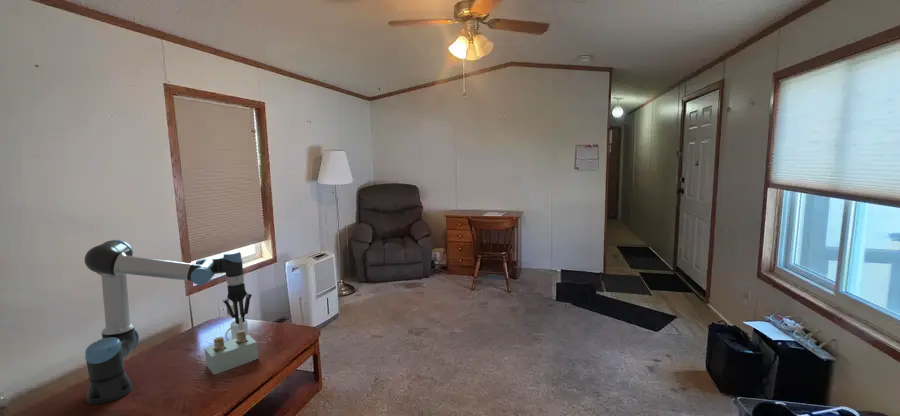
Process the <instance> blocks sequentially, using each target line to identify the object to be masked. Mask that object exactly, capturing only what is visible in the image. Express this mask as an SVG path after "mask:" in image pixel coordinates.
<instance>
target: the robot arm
mask: <svg viewBox="0 0 900 416" xmlns="http://www.w3.org/2000/svg"><path fill="white" fill-rule="evenodd" d="M133 254H134V250H133V247H132V246H131V245H130V244H129V243H128V242H127V241H124V240H121V239H114V240H113V239H112V240H107V241H105V242H103V243H101V244H98V245H96V246H94V247H92V248H90V249H89V250H88V251H87V252H86V254H85V255H84V264H85V266H86V268H87V269H89V270H90V271H92V272H94V273H96V274H97V275H99V276H100V277H101V286H102V298H103V309H104V321H105V322H104V323H105V327H104V329H102V330H101V339H98V340H97V341H94V342H92V343H91V344H89V345H88V346H87V347H86V350H85V353H84V355H85V356H84V359H85V362H86V367H87V368H86V369H87V372H88V373H87V374H88V378H89V379H88V380H89V386H88V389H87V392H86V403H87V404H89V405H102V404H103V405H104V404H108V403H110V402H114V401H117V400H118V399H121V398H123V397H125V396H127V395H128V394H129V393H130V392H131V391H132V389H133V382H132V380H131V379H130V377H129V376H128V374H127V373H126V371H125V365H124V364H125V363H124V360H125V359H126V358H127V357H128V356H129V355H130V354H131V353H132V352H133V351H134V350H135V349H136V347H137V346H138V344H139V341H140V334H139V332H138V330H136V329H135V324H133V323H131V321H130V319H131V318H130V308H129V295H128V281H127V275H131V276H132V275H133V276H143V277H152V278H161V279H169V280H179V281H187V282H188V281H189V282H192V283H193V284H195V285H198V286H202V285H205V284H207V283H209V282H210V281H211V280H212V278H213V277H214V276H215V275H217V274H225V279H226V280H225V281H226V285H227V286H226V287H227V297H226V298H225V299H222V302H223V303H224V305H225V306H226V309H227V311H228V313H229V316H230V317H231V318H232V319H235V320H234V321H235V322H236V324H238V328H239V330H243V322H244V321H245V320H246V319H245V315H248V313H249V310H250V309H249V308H250V300H251V298H252V296H253V295H252V293H250V292H247V291H246V286H245V276H244V268H243V267H244V266H243V258H242V254H241V252H240V251H238V250H237V251H227V252H225V253H223V257H216V258H215V257H214V258H203V259H197V260H196V261H195V263H190V262H189V263H187V262H180V261H172V260H165V259H157V258H149V257H142V256H141V257H140V256H135V255H134V256H133ZM244 299H245V302H244ZM230 301H231V302H232V305H233V309H232V306H231V304H230Z"/></svg>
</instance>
